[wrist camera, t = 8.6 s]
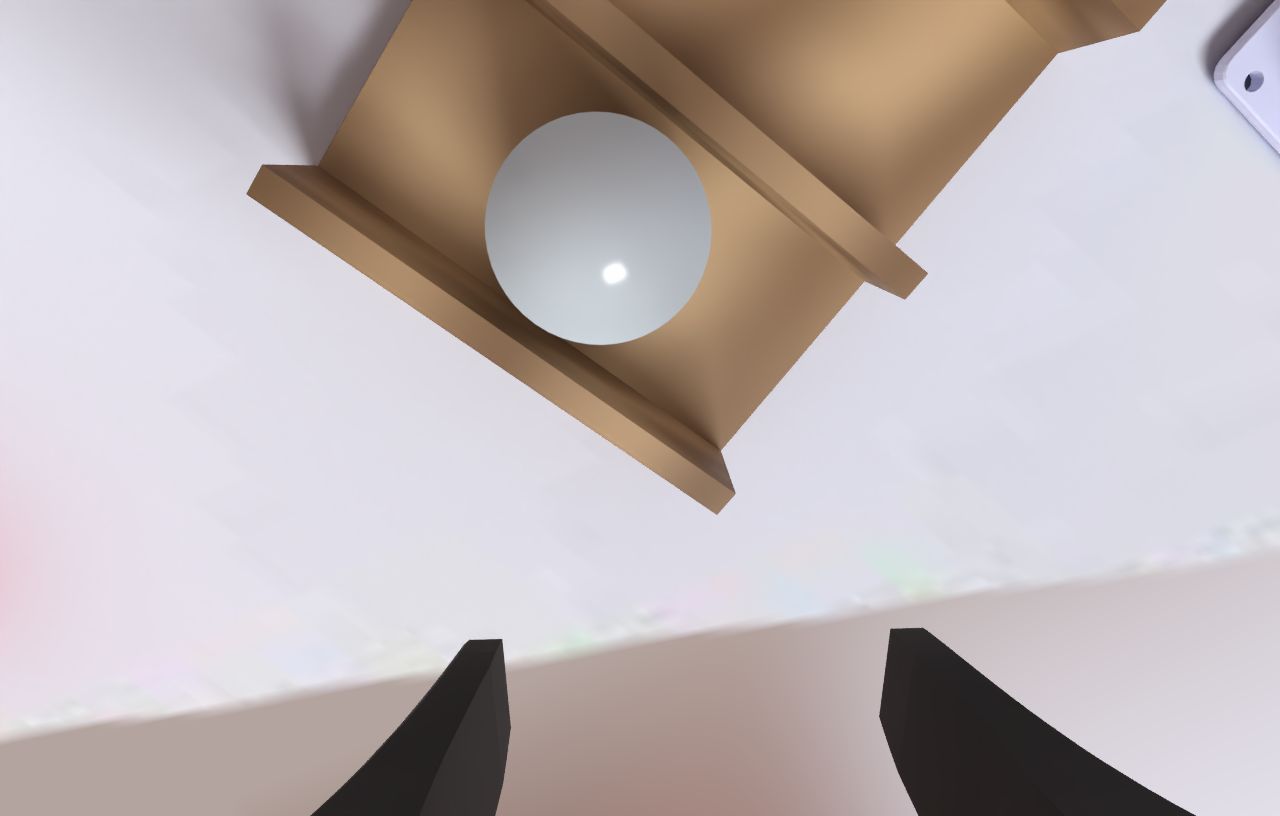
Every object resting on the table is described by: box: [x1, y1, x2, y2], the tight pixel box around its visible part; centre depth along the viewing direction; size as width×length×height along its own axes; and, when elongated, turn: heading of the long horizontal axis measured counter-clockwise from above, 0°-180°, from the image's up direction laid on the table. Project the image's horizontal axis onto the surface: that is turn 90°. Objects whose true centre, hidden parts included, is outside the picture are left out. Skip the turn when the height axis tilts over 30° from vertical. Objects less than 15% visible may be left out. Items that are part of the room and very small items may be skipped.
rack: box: [247, 0, 1166, 514], centre depth 17 cm, size 14×16×4 cm
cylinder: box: [485, 112, 712, 345], centre depth 16 cm, size 4×4×6 cm
